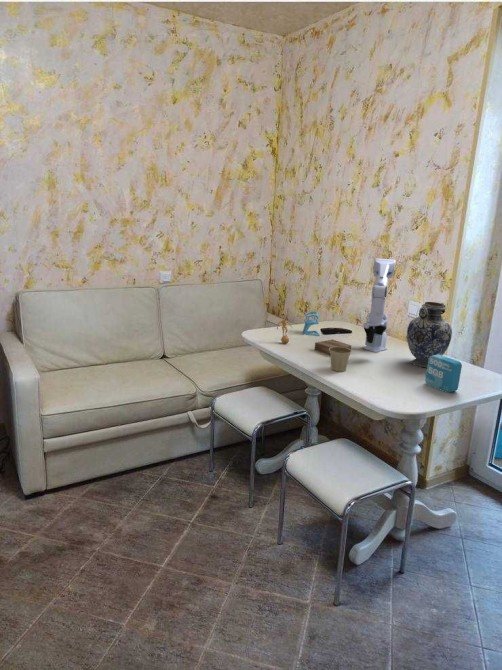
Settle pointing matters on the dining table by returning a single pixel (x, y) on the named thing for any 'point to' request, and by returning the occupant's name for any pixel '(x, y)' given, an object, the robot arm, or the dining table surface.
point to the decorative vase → (428, 333)
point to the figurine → (284, 338)
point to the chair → (310, 323)
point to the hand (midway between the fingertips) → (373, 341)
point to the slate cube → (375, 341)
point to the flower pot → (339, 358)
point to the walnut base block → (329, 346)
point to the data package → (443, 373)
